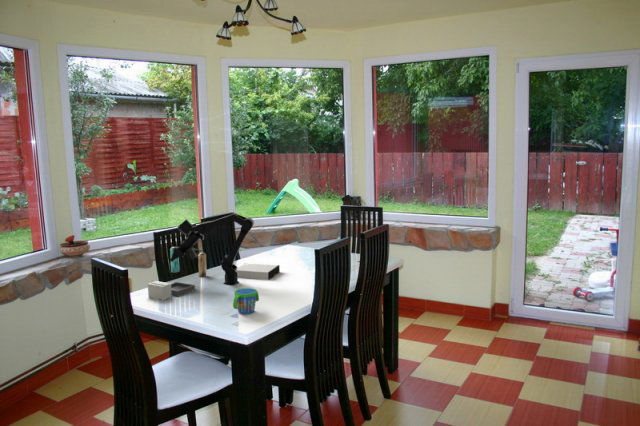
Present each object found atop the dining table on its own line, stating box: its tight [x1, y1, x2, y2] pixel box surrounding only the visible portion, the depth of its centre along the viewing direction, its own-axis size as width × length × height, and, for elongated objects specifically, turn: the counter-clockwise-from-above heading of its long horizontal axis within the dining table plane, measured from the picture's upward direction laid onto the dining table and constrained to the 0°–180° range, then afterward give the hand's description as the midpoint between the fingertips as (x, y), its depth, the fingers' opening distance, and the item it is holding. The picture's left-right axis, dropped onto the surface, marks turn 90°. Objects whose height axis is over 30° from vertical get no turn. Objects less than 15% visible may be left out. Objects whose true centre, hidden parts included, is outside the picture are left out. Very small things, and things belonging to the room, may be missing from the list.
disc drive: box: [236, 262, 281, 281], centre depth 307 cm, size 18×22×5 cm
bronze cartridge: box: [197, 252, 207, 278], centre depth 303 cm, size 4×4×14 cm
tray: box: [171, 281, 196, 297], centre depth 273 cm, size 13×13×3 cm
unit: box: [147, 280, 173, 301], centre depth 263 cm, size 10×6×7 cm, turn 63°
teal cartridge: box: [169, 246, 180, 273], centre depth 286 cm, size 4×4×14 cm
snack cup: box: [232, 287, 260, 315], centre depth 240 cm, size 16×10×10 cm
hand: (172, 260), depth 286 cm, fingers closed on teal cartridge, 4 cm apart
